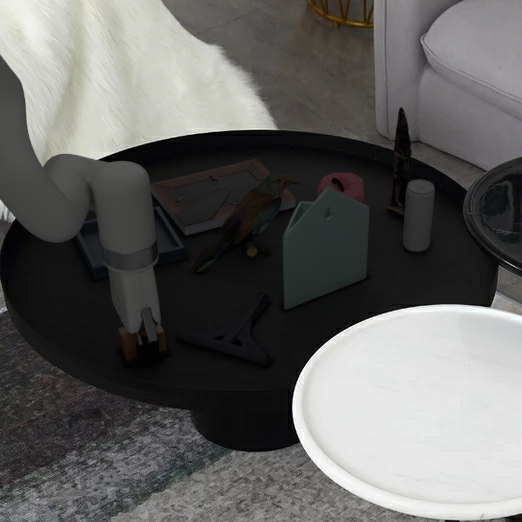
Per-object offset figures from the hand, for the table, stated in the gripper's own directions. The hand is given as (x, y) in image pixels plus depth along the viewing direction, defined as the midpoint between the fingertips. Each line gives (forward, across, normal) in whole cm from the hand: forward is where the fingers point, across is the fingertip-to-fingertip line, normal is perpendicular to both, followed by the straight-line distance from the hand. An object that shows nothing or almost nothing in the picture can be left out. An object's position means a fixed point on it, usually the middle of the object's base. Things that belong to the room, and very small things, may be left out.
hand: (144, 350), depth 150 cm
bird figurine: (+1, -19, +24) cm, 31 cm away
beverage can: (+1, -10, +52) cm, 53 cm away
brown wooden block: (+1, 0, 0) cm, 1 cm away
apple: (+1, -22, +43) cm, 48 cm away
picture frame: (+1, -37, +26) cm, 45 cm away
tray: (+1, -29, +6) cm, 30 cm away
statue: (+1, -20, +55) cm, 59 cm away
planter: (+1, -7, +31) cm, 32 cm away
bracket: (+1, 0, +16) cm, 16 cm away
